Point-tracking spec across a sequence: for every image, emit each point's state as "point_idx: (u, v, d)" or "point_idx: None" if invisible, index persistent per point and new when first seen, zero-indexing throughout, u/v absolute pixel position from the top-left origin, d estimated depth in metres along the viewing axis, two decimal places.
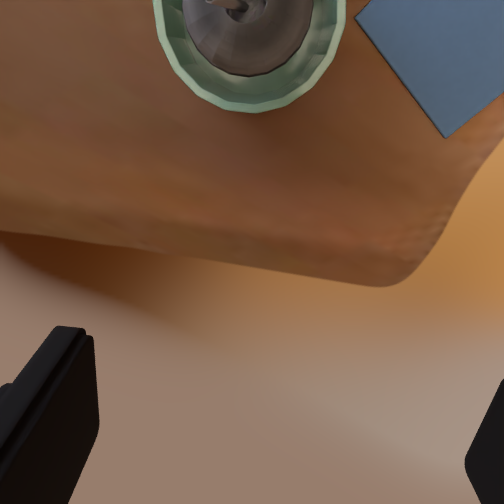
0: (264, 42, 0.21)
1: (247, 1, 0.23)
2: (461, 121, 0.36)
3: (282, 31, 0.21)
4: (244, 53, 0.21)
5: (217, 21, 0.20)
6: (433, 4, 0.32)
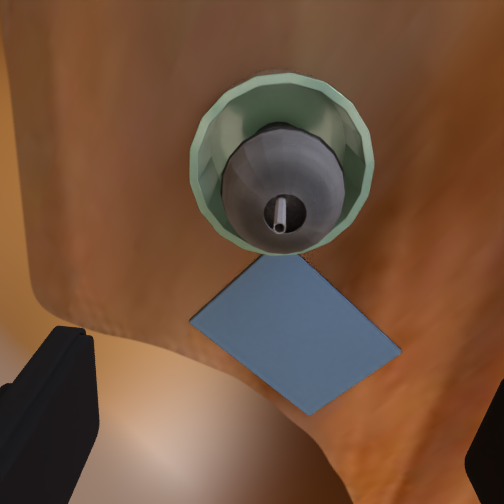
0: (248, 228, 0.22)
1: None
2: (203, 330, 0.43)
3: (258, 242, 0.22)
4: (239, 208, 0.22)
5: (265, 187, 0.20)
6: (290, 295, 0.41)
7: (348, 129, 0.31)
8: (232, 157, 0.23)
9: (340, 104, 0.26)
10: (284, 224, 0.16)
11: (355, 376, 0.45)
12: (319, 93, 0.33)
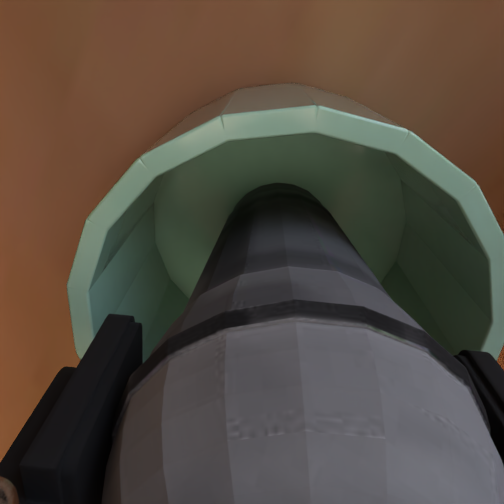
0: None
1: None
2: None
3: None
4: None
5: None
6: None
7: (424, 209, 0.15)
8: (134, 393, 0.07)
9: (445, 186, 0.10)
10: None
11: None
12: None
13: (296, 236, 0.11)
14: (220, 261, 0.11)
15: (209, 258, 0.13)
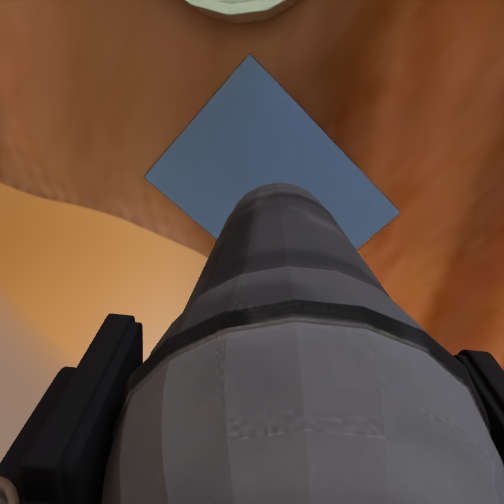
0: None
1: None
2: (161, 188, 0.36)
3: None
4: None
5: None
6: (263, 135, 0.33)
7: None
8: (134, 393, 0.07)
9: None
10: None
11: None
12: None
13: (296, 236, 0.11)
14: (220, 261, 0.11)
15: (209, 258, 0.13)
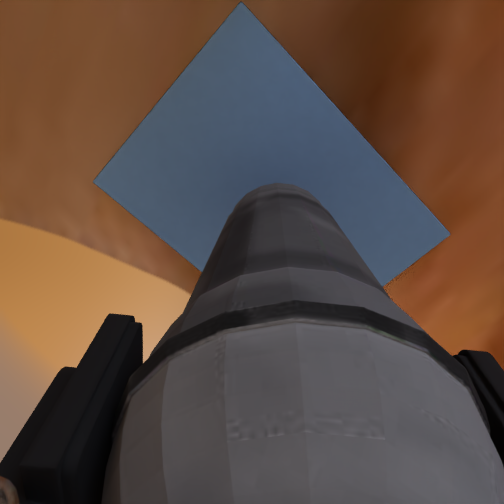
0: None
1: None
2: (118, 197, 0.25)
3: None
4: None
5: None
6: (261, 124, 0.23)
7: None
8: (134, 394, 0.07)
9: None
10: None
11: None
12: None
13: (296, 236, 0.11)
14: (220, 262, 0.11)
15: (209, 258, 0.13)
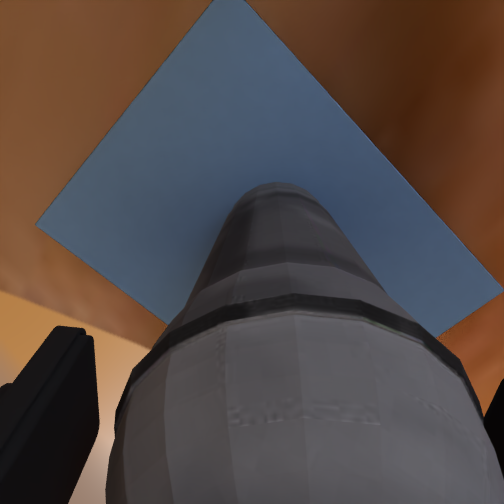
0: None
1: None
2: (70, 244, 0.19)
3: None
4: None
5: None
6: (258, 150, 0.17)
7: None
8: (137, 385, 0.07)
9: None
10: None
11: None
12: None
13: (294, 233, 0.11)
14: (220, 258, 0.11)
15: (209, 256, 0.13)
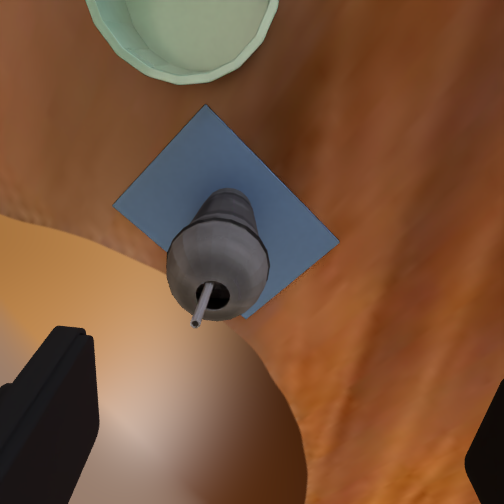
0: (185, 304, 0.27)
1: None
2: (128, 215, 0.40)
3: (194, 314, 0.27)
4: (177, 287, 0.26)
5: (196, 274, 0.25)
6: (218, 173, 0.38)
7: None
8: (174, 241, 0.28)
9: None
10: (199, 320, 0.21)
11: (292, 271, 0.42)
12: None
13: (224, 206, 0.32)
14: (198, 214, 0.32)
15: (195, 216, 0.33)
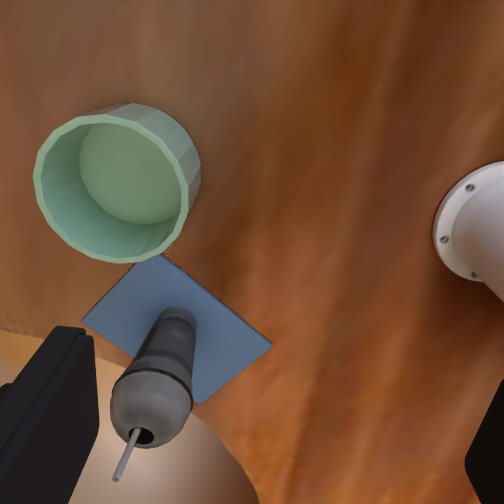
0: (122, 438, 0.35)
1: None
2: (94, 328, 0.48)
3: None
4: (115, 426, 0.34)
5: (127, 422, 0.33)
6: (166, 297, 0.46)
7: None
8: (116, 385, 0.36)
9: (150, 139, 0.31)
10: (118, 476, 0.29)
11: (234, 368, 0.50)
12: None
13: (162, 343, 0.40)
14: (141, 350, 0.40)
15: (141, 345, 0.41)
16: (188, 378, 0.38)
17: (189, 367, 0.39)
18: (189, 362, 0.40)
